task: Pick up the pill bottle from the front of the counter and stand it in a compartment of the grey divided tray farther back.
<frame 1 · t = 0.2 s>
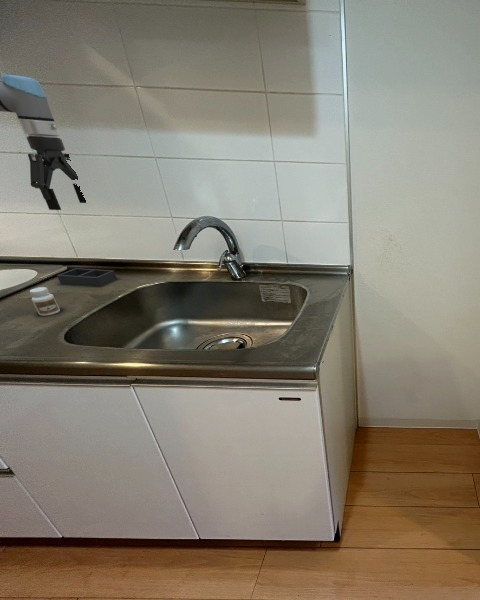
hand: (71, 206, 105), 26 cm above the counter, tool pointing down, fingers open, 13 cm apart
pill bottle: (50, 313, 92), on the counter
grey divided tray: (89, 281, 112), on the counter
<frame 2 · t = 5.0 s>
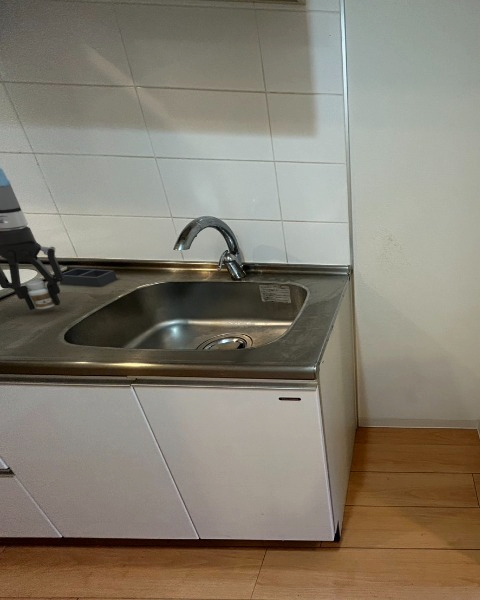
hand: (45, 305, 91), 2 cm above the counter, tool pointing down, fingers closed on pill bottle, 4 cm apart
pill bottle: (46, 306, 92), point 2 cm above the counter, touching gripper
when the fingers open (5 cm above the counter, at t = 14.6 s): pill bottle drops 4 cm, resting on grey divided tray.
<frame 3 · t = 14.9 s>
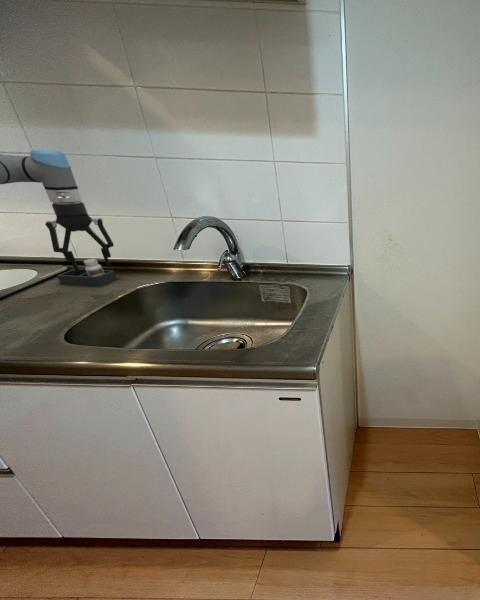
hand: (93, 267, 110), 6 cm above the counter, tool pointing down, fingers open, 8 cm apart
pill bottle: (99, 280, 113), point 1 cm above the counter, touching grey divided tray
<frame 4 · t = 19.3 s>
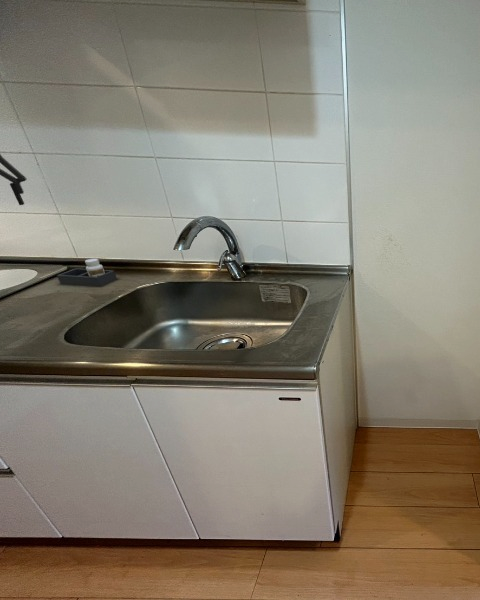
nothing on the counter moved.
at the end: pill bottle 0.4 cm from the target spot in the grey divided tray, point 0.5 cm above the grey divided tray's base; pill bottle tilted 0° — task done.
